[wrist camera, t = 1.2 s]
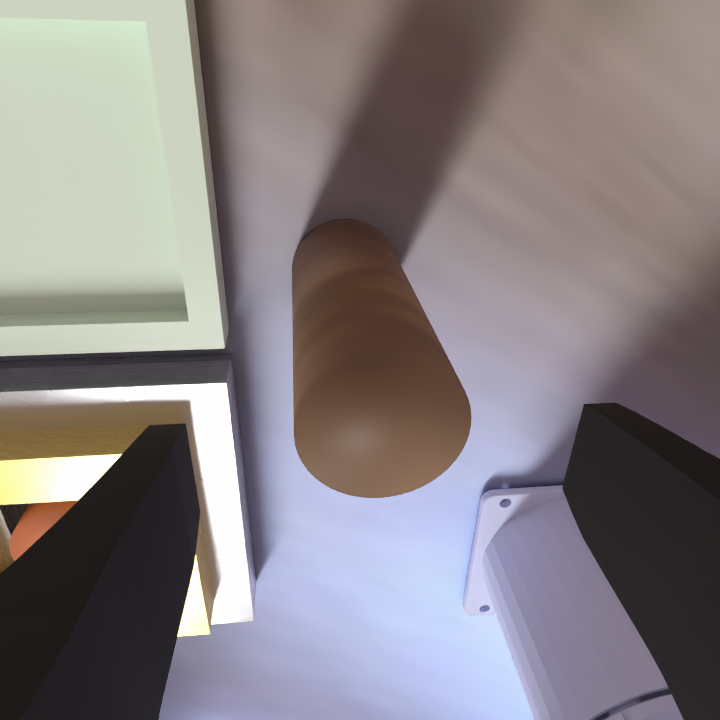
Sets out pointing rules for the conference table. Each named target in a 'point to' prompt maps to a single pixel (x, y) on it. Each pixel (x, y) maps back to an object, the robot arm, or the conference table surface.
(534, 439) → the conference table surface
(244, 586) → the panel
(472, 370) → the conference table surface
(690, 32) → the conference table surface
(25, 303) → the tray
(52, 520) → the button
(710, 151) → the conference table surface
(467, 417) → the dowel
